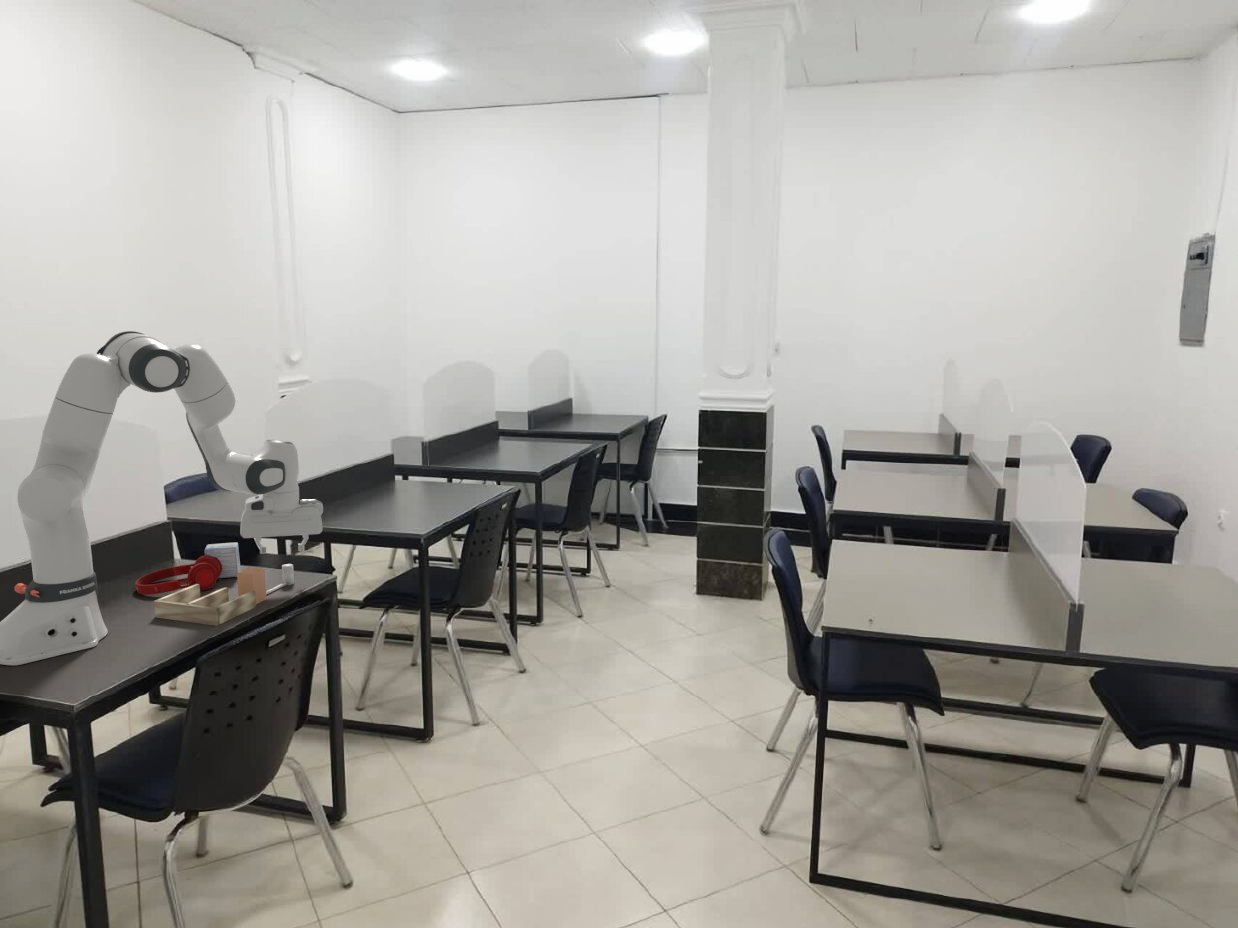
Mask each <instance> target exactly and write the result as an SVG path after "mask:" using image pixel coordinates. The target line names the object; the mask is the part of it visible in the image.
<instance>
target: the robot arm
mask: <svg viewBox="0 0 1238 928" xmlns="http://www.w3.org/2000/svg"><path fill="white" fill-rule="evenodd" d="M131 385H132V386H134V387H136V388H138V389H141V390H142V391H145V392H148V393H153V394H154V393H164V392H165V393H166V392H168V391H171V390H173V389H174V391H175V393H176V395H177V396H178V398H179V400H180V402H181V403H182V405H183V407H184V409H185V411H186V412H185V415H186V421H187V425H188V428H189V430H190V432H191V435H192V437H193V439H194V441H195V443H196V446H197V447H198V449H199V452H200V454H201V456H202V459H203V461H204V465H205V470H206V471H205V472H206V476H207V479H208V481H209V483H210V485H211V486H212V487H213V488H215V489H216V490H218V491H221V492H223V491H224V492H236V493H241V494H250V495H254V496H251V497H248V498H246V499H245V501H244V508H245V509H244V510H243V511H242V515H241V520H240V530H239V531H240V532H239V533H240V536H241V537H242V538H243V539H252V538H254V539H255V540H254V541H255V543H256V544H257V545H258V547H259V553H260V554H267V545H265V544H264V545H263V544H262V542H261V541H262V538H269V537H271V538H272V537H286V536H287V537H288V536H289V537H290V536H291V537H292V536H302V541H301V542H300V543H297V549H298V550H297V551H298V552H304V551H305V545H306V543H307V542H308V540H309V538H310V537H309V536H310V535H319V534H321V533H322V532H323V522H322V521H323V520H322V515H323V512H324V504H323V502H322V501H320V500H318V499H316V498H313V499H300V486H299V484H298V483H299V482H298V477H299V473H300V472H299V470H300V468H299V455H298V450H297V448H296V447H297V446H296V445H295V444H294V442H292V441H286V440H279V439H267V440H265V441H264V443H263V445H262V446H261V447H260V448H259V449H258V450H257V451H255V452H253V453H252V454H250V455H248V454H242V453H238V452H235V451H234V450H232V449H231V448H229V446H228V445H227V442H226V440H225V438H224V436H223V434H222V431H221V429H220V427H219V424H221V423H223V421H225V420H226V419H227V418H228V417H230V416H231V414H232V412H233V411H234V408H235V407H236V401H237V400H236V397H235V393H234V391H233V388H232V387H231V385H230V383H229V382H228V380H227V377H226V375H224V373H223V371H222V370H221V368H220V366H219V365H218V364H217V363H216V361H215V360H214V358H213V357H212V355H210V354H209V352H208V351H207V350H206V349H205V348H204V347H202V346H200V345H198V344H193V343H192V344H184V345H180V346H178V347H176V348H174V349H173V348H171V347H169V346H167V345H165V344H164V343H162V342H161V341H160V340H158V339H156V338H155V337H152V336H150V335H146V334H144V333H142V332H139V331H131V330H130V331H129V330H128V331H121V332H118V333H117V334H114V335H113V336H111V337H110V338H109V339H108V341H107V342H106V343H105V344H104V345H103V346H102V347H100V348H99V349H98V350H97V352H96V353H84V354H80V355H77V356H76V357H75V358H74V359H73V360H72V362H71V363H70V364H69V367H68V368H67V370H66V372H65V373H64V375H63V377H62V379H61V382H60V383H59V386H58V387H57V388H58V389H57V391H56V394H55V395H54V399H53V401H52V404H51V408H50V411H49V413H48V415H47V416H48V417H47V419H46V422H45V425H44V428H43V431H42V436H41V440H40V445H39V448H38V449H39V450H38V454H37V457H36V460H35V463H34V466H33V469H32V470H31V472H30V473H29V475H27V476H26V477H25V478H23V480H22V482H21V483H20V485H19V487H18V491H17V505H18V507H19V511H20V516H21V519H22V524H23V528H24V531H25V535H26V537H27V538H26V539H27V541H28V546H29V552H30V561H31V568H32V569H31V570H32V577H33V579H32V580H31V582H30V583H29V584H28V585H27V584H24V583H21V582H20V583H19V582H18V583H17V584H15V586H14V592H16V593H18V594H20V595H24V596H25V599H24V600H23V601H22V602H21V603H20V604H18V606H16V607H15V608H14V609H13V610H12V611H11V612H10V613H9V614H8V615H6V617H4V619H2V620H1V621H0V665H5V666H19V665H24V664H28V663H29V664H30V663H33V662H37V661H40V660H45V659H50V658H53V657H57V656H61V655H65V654H69V653H73V652H77V651H82V650H86V649H90V648H94V647H96V646H97V645H98V644H99V641H100V640H102V639H103V638H105V637H106V635H107V634H108V632H109V630H108V628H107V627H106V624H105V622H104V619H103V616H102V613H101V610H100V605H99V602H98V582H97V573H96V572H95V571H94V567H93V565H94V564H93V555H92V548H91V547H92V546H91V537H90V535H89V533H88V532H89V531H88V528H87V524H86V520H85V519H86V518H85V514H84V508H83V501H84V499H85V498H86V496H87V494H88V491H89V489H90V486H91V482H92V479H93V475H94V474H95V471H96V470H95V469H96V466H97V464H98V460H99V457H100V453H101V450H102V446H103V443H104V440H105V437H106V435H107V433H108V429H109V427H110V424H111V420H112V418H113V415H114V412H115V410H116V406H117V404H118V403H117V402H118V400H119V397H120V396H121V394H122V393H123V392H124V391H125V390H126V389H127V388H128V387H130V386H131Z"/></svg>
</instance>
